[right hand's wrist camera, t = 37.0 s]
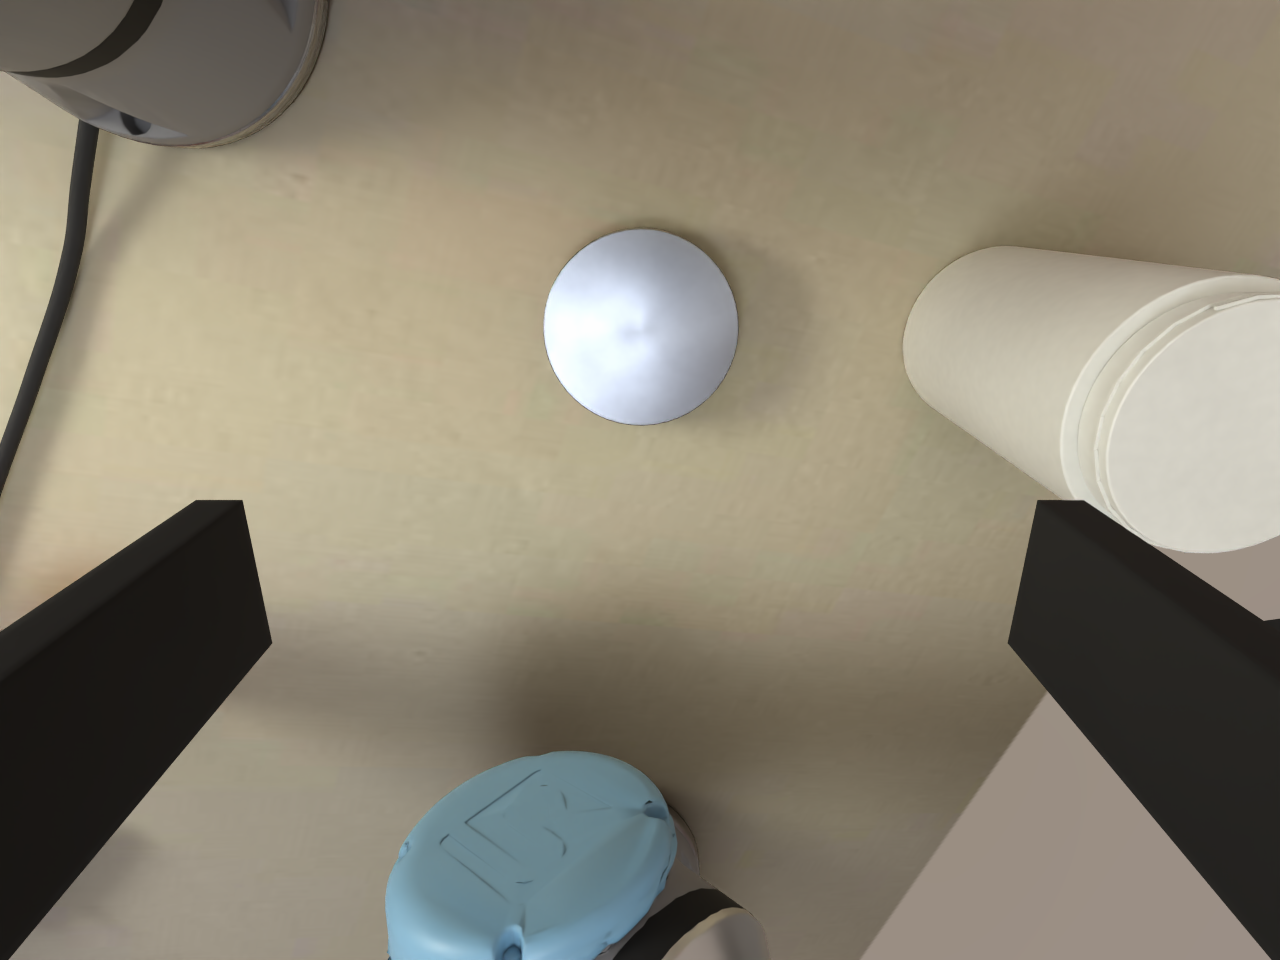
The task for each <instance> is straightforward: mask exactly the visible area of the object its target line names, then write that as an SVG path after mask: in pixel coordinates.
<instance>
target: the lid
mask: <svg viewBox="0 0 1280 960" xmlns="http://www.w3.org/2000/svg"><path fill="white" fill-rule="evenodd" d="M738 331H739V327H738V313H737V307H736V303H735V299H734V296H733V293H732V290H731V288H730V286H729V284H728V282H727V280H726V278H725V276H724V275H723V273H722V272H721V270H720V269H719V267H718V266H717V265H716V264H715V263H714V261H713V260H712V259H711V258H710V257H709V256H708V255H707V254H706V253H704V252H703V251H702V250H701V249H700V248H699V247H697V246H696V245H694V244H693V243H691V242H690V241H688V240H687V239H685V238H683V237H681V236H679V235H677V234H674V233H671V232H668V231H665V230H660V229H654V228H642V227H638V228H627V229H622V230H618V231H614V232H611V233H608V234H606V235H603V236H601V237H599V238H597V239H596V240H594V241H592V242H590V243H589V244H588V245H586V246H585V247H584V248H582V249H581V250H580V251H578V252H577V253H576V254H575V255H574V256H573V257H572V258H571V259H570V260H569V261H568V262H567V264H566V265H565V266H564V267H563V269H562V270H561V271H560V273H559V275H558V276H557V278H556V280H555V282H554V283H553V286H552V288H551V291H550V293H549V295H548V299H547V303H546V307H545V313H544V321H543V334H544V341H545V348H546V351H547V355H548V359H549V361H550V364H551V366H552V369H553V371H554V373H555V374H556V376H557V378H558V380H559V381H560V383H561V384H562V385H563V387H564V388H565V389H566V391H567V392H568V393H569V394H570V395H571V396H572V397H573V398H574V399H575V400H576V401H577V402H578V403H580V404H581V405H582V406H583V407H585V408H586V409H588V410H589V411H591V412H593V413H594V414H596V415H598V416H601V417H603V418H605V419H607V420H611V421H614V422H617V423H622V424H628V425H655V424H660V423H664V422H668V421H671V420H674V419H677V418H679V417H681V416H683V415H685V414H687V413H689V412H691V411H692V410H694V409H695V408H697V407H698V406H700V405H701V404H702V403H703V402H705V401H706V400H707V399H708V398H709V397H710V396H711V395H712V394H713V393H714V392H715V390H716V389H717V388H718V387H719V385H720V384H721V382H722V381H723V380H724V378H725V376H726V374H727V372H728V370H729V368H730V366H731V364H732V361H733V358H734V355H735V351H736V347H737V342H738Z"/></svg>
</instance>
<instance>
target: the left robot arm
mask: <svg viewBox="0 0 1280 960" xmlns="http://www.w3.org/2000/svg"><path fill="white" fill-rule="evenodd" d="M1264 622H1266V623H1267V624H1269V625H1270V626H1272V627H1273V628H1275V629H1276V630H1278V631H1279V632H1280V619H1275V620H1267V621H1264ZM386 918H387V927H388V935H389V939H388V951H387V953H388V954H389V955H390V957H389V958H388V960H771V957H770V952H769V947H768V943H767V938H766V935H765V931H764V929H763V927H762V925H761V923H760V922H759V921H758V920H757V919H756V918H755V917H754V916H753V915H752V914H751V913H750V912H748V911H747V910H746V909H744V908H743V907H741V906H740V905H739V904H737V903H736V902H734V901H733V900H732V899H730V898H729V897H727V896H726V895H725V894H723V893H722V892H720V891H719V890H718V889H716V888H715V887H713V886H712V885H711V884H709V883H708V882H707V881H705V880H704V879H702V878H701V877H700V873H699V861H698V851H697V847H696V843H695V840H694V838H693V835H692V833H691V831H690V829H689V828H688V826H687V825H686V823H685V822H684V820H683V819H682V818H681V817H680V816H679V814H678V813H677V812H675V811H674V810H673V809H672V808H671V807H670V806H669V805H667V804H666V802H665V800H664V798H663V796H662V794H661V792H660V791H659V789H658V788H657V787H656V785H655V784H654V783H653V782H652V781H651V780H650V779H649V778H648V777H647V776H646V775H645V774H644V773H642V772H641V771H640V770H638V769H637V768H635V767H633V766H632V765H630V764H628V763H626V762H624V761H622V760H619V759H616V758H613V757H610V756H607V755H603V754H599V753H593V752H585V751H556V752H550V753H548V754H544V755H540V756H525V757H521V758H518V759H514V760H511V761H508V762H506V763H503V764H501V765H498V766H496V767H493V768H490V769H488V770H486V771H484V772H482V773H480V774H478V775H476V776H474V777H473V778H471V779H469V780H467V781H466V782H464V783H463V784H461V785H460V786H458V787H457V788H455V789H454V790H452V791H451V792H450V793H448V794H447V795H446V796H445V797H443V798H442V799H441V800H440V801H439V802H437V803H436V804H435V805H434V806H433V807H432V808H431V809H430V810H429V811H428V812H427V813H426V814H425V815H424V816H423V818H422V819H421V820H420V821H419V822H418V823H417V824H416V826H415V827H414V828H413V830H412V831H411V832H410V834H409V835H408V836H407V838H406V840H405V841H404V843H403V845H402V846H401V849H400V851H399V858H398V860H397V861H396V863H395V865H394V867H393V869H392V872H391V874H390V876H389V880H388V884H387V891H386Z"/></svg>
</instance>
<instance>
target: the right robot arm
mask: <svg viewBox="0 0 1280 960" xmlns="http://www.w3.org/2000/svg"><path fill="white" fill-rule="evenodd" d="M327 12H328V0H0V71H5V72H6V73H8V74H9V75H11V76H12V77H14V78H15V79H17V80H19V81H20V82H22V83H23V84H25V85H26V86H28V87H29V88H31V89H32V90H34V91H36V92H37V93H39V94H40V95H42V96H43V97H45V98H46V99H48V100H49V101H51V102H52V103H54V104H56V105H57V106H59V107H60V108H62V109H63V110H65V111H67V112H68V113H70V114H72V115H73V116H75V117H77V118H79V124H78V131H77V139H76V146H75V153H74V160H73V168H72V176H71V184H70V193H69V204H68V217H67V227H66V235H65V241H64V246H63V251H62V255H61V260H60V264H59V268H58V272H57V276H56V280H55V284H54V287H53V291H52V294H51V297H50V301H49V304H48V307H47V310H46V313H45V316H44V319H43V322H42V325H41V328H40V331H39V334H38V337H37V340H36V343H35V346H34V348H33V351H32V354H31V357H30V360H29V363H28V366H27V369H26V372H25V375H24V378H23V381H22V384H21V387H20V390H19V393H18V396H17V399H16V402H15V405H14V407H13V410H12V413H11V416H10V418H9V421H8V424H7V427H6V429H5V432H4V435H3V438H2V440H1V443H0V496H1V493H2V490H3V487H4V484H5V481H6V478H7V476H8V473H9V470H10V467H11V464H12V462H13V459H14V456H15V453H16V451H17V448H18V445H19V443H20V440H21V437H22V435H23V432H24V429H25V427H26V424H27V421H28V419H29V416H30V413H31V411H32V408H33V405H34V402H35V399H36V397H37V394H38V391H39V388H40V385H41V382H42V379H43V376H44V373H45V370H46V368H47V365H48V362H49V359H50V356H51V353H52V350H53V348H54V345H55V342H56V339H57V336H58V333H59V331H60V328H61V325H62V322H63V319H64V316H65V313H66V310H67V307H68V303H69V300H70V297H71V294H72V290H73V287H74V283H75V279H76V276H77V272H78V268H79V264H80V259H81V255H82V250H83V246H84V240H85V233H86V225H87V215H88V204H89V195H90V187H91V180H92V173H93V167H94V160H95V153H96V147H97V140H98V133H99V128H100V129H102V130H105V131H108V132H110V133H113V134H116V135H118V136H121V137H124V138H127V139H131V140H134V141H138V142H142V143H147V144H152V145H159V146H168V147H178V148H207V147H215V146H220V145H224V144H229V143H232V142H235V141H238V140H240V139H243V138H246V137H248V136H250V135H252V134H254V133H256V132H258V131H259V130H261V129H262V128H264V127H265V126H267V125H268V124H270V123H271V122H272V121H274V120H275V119H276V118H277V117H278V116H279V115H280V114H282V113H283V112H284V111H285V110H286V108H287V107H288V106H289V105H290V104H291V103H292V102H293V101H294V99H295V98H296V96H297V95H298V94H299V92H300V91H301V90H302V88H303V86H304V85H305V83H306V81H307V79H308V77H309V76H310V74H311V72H312V69H313V67H314V65H315V62H316V60H317V57H318V54H319V51H320V48H321V45H322V41H323V36H324V32H325V27H326V20H327ZM271 644H272V640H271V635H270V630H269V625H268V620H267V616H266V611H265V606H264V601H263V596H262V592H261V587H260V582H259V577H258V572H257V568H256V563H255V558H254V553H253V548H252V544H251V539H250V534H249V529H248V524H247V520H246V515H245V510H244V505H243V500H196V501H194V502H193V503H191V504H190V505H188V506H187V507H185V508H184V509H182V510H181V511H179V512H178V513H176V514H175V515H173V516H172V517H170V518H169V519H167V520H166V521H164V522H163V523H161V524H160V525H158V526H157V527H155V528H154V529H152V530H151V531H149V532H148V533H147V534H145V535H144V536H142V537H141V538H139V539H138V540H136V541H135V542H133V543H132V544H130V545H129V546H127V547H126V548H124V549H123V550H121V551H120V552H118V553H117V554H115V555H114V556H112V557H111V558H109V559H108V560H106V561H105V562H103V563H102V564H100V565H99V566H97V567H96V568H94V569H93V570H91V571H90V572H88V573H87V574H86V575H84V576H83V577H81V578H80V579H78V580H77V581H75V582H74V583H72V584H71V585H69V586H68V587H66V588H65V589H63V590H62V591H60V592H59V593H57V594H56V595H54V596H53V597H51V598H50V599H48V600H47V601H45V602H44V603H42V604H41V605H39V606H38V607H36V608H35V609H33V610H32V611H30V612H29V613H27V614H26V615H25V616H23V617H22V618H20V619H19V620H17V621H16V622H14V623H13V624H11V625H10V626H8V627H7V628H5V629H4V630H2V631H1V632H0V960H9V958H10V957H11V956H12V955H13V954H14V952H15V951H16V950H17V949H18V948H19V946H20V945H21V944H22V943H23V942H24V940H25V939H26V938H27V937H28V936H29V934H30V933H31V932H32V931H33V930H34V928H35V927H36V926H37V925H38V924H39V922H40V921H41V920H42V919H43V918H44V916H45V915H46V914H47V913H48V912H49V910H50V909H51V908H52V907H53V906H54V904H55V903H56V902H57V901H58V900H59V898H60V897H61V896H62V895H63V894H64V892H65V891H66V890H67V889H68V888H69V886H70V885H71V884H72V883H73V882H74V880H75V879H76V878H77V877H78V876H79V874H80V873H81V872H82V871H83V870H84V868H85V867H86V866H87V865H88V864H89V862H90V861H91V860H92V859H93V858H94V856H95V855H96V854H97V853H98V852H99V850H100V849H101V848H102V847H103V846H104V844H105V843H106V842H107V841H108V840H109V838H110V837H111V836H112V835H113V834H114V832H115V831H116V830H117V829H118V828H119V826H120V825H121V824H122V823H123V822H124V820H125V819H126V818H127V817H128V816H129V814H130V813H131V812H132V811H133V810H134V808H135V807H136V806H137V805H138V804H139V802H140V801H141V800H142V799H143V798H144V796H145V795H146V794H147V793H148V792H149V790H150V789H151V788H152V787H153V786H154V784H155V783H156V782H157V781H158V780H159V778H160V777H161V776H162V775H163V774H164V772H165V771H166V770H167V769H168V768H169V766H170V765H171V764H172V763H173V762H174V760H175V759H176V758H177V757H178V756H179V754H180V753H181V752H182V751H183V750H184V748H185V747H186V746H187V745H188V744H189V742H190V741H191V740H192V739H193V738H194V736H195V735H196V734H197V733H198V732H199V730H200V729H201V728H202V727H203V726H204V724H205V723H206V722H207V721H208V720H209V718H210V717H211V716H212V715H213V714H214V712H215V711H216V710H217V709H218V708H219V706H220V705H221V704H222V703H223V702H224V700H225V699H226V698H227V697H228V696H229V694H230V693H231V692H232V691H233V690H234V688H235V687H236V686H237V685H238V684H239V682H240V681H241V680H242V679H243V678H244V676H245V675H246V674H247V673H248V672H249V670H250V669H251V668H252V667H253V666H254V664H255V663H256V662H257V661H258V660H259V658H260V657H261V656H262V655H263V654H264V652H265V651H266V650H267V649H268V648H269V646H270V645H271ZM1008 644H1009V645H1010V646H1011V648H1012V649H1013V650H1014V651H1015V652H1016V654H1017V655H1018V656H1019V657H1020V658H1021V660H1022V661H1023V662H1024V663H1025V664H1026V666H1027V667H1028V668H1029V669H1030V670H1031V672H1032V673H1033V674H1034V675H1035V676H1036V678H1037V679H1038V680H1039V681H1040V682H1041V684H1042V685H1043V686H1044V687H1045V688H1046V690H1047V691H1048V692H1049V693H1050V694H1051V695H1052V697H1053V698H1054V699H1055V700H1056V702H1057V703H1058V704H1059V705H1060V706H1061V708H1062V709H1063V710H1064V711H1065V712H1066V714H1067V715H1068V716H1069V717H1070V718H1071V720H1072V721H1073V722H1074V723H1075V724H1076V726H1077V727H1078V728H1079V729H1080V730H1081V732H1082V733H1083V734H1084V735H1085V736H1086V738H1087V739H1088V740H1089V741H1090V742H1091V744H1092V745H1093V746H1094V747H1095V748H1096V750H1097V751H1098V752H1099V753H1100V754H1101V756H1102V757H1103V758H1104V759H1105V760H1106V762H1107V763H1108V764H1109V765H1110V766H1111V767H1112V769H1113V770H1114V771H1115V772H1116V774H1117V775H1118V776H1119V777H1120V778H1121V780H1122V781H1123V782H1124V783H1125V784H1126V786H1127V787H1128V788H1129V789H1130V790H1131V792H1132V793H1133V794H1134V795H1135V796H1136V798H1137V799H1138V800H1139V801H1140V802H1141V804H1142V805H1143V806H1144V807H1145V808H1146V810H1147V811H1148V812H1149V813H1150V814H1151V816H1152V817H1153V818H1154V819H1155V820H1156V822H1157V823H1158V824H1159V825H1160V826H1161V828H1162V829H1163V830H1164V831H1165V832H1166V833H1167V835H1168V836H1169V837H1170V838H1171V840H1172V841H1173V842H1174V843H1175V844H1176V846H1177V847H1178V848H1179V849H1180V850H1181V852H1182V853H1183V854H1184V855H1185V856H1186V858H1187V859H1188V860H1189V861H1190V862H1191V864H1192V865H1193V866H1194V867H1195V868H1196V870H1197V871H1198V872H1199V873H1200V874H1201V876H1202V877H1203V878H1204V879H1205V880H1206V882H1207V883H1208V884H1209V885H1210V886H1211V888H1212V889H1213V890H1214V891H1215V892H1216V894H1217V895H1218V896H1219V897H1220V898H1221V900H1222V901H1223V902H1224V903H1225V904H1226V906H1227V907H1228V908H1229V909H1230V910H1231V912H1232V913H1233V914H1234V915H1235V916H1236V918H1237V919H1238V920H1239V921H1240V922H1241V924H1242V925H1243V926H1244V927H1245V928H1246V930H1247V931H1248V932H1249V933H1250V934H1251V936H1252V937H1253V938H1254V939H1255V940H1256V942H1257V943H1258V944H1259V945H1260V946H1261V948H1262V949H1263V950H1264V951H1265V952H1266V954H1267V955H1268V956H1269V957H1270V958H1271V960H1280V632H1279V631H1278V630H1276V629H1275V628H1273V627H1272V626H1270V625H1269V624H1267V623H1266V622H1264V621H1263V620H1261V619H1260V618H1258V617H1257V616H1255V615H1254V614H1252V613H1251V612H1249V611H1248V610H1247V609H1245V608H1244V607H1242V606H1241V605H1239V604H1238V603H1236V602H1235V601H1233V600H1232V599H1230V598H1229V597H1227V596H1226V595H1224V594H1223V593H1221V592H1220V591H1218V590H1217V589H1215V588H1214V587H1212V586H1211V585H1209V584H1208V583H1206V582H1205V581H1203V580H1202V579H1200V578H1199V577H1197V576H1196V575H1194V574H1193V573H1192V572H1190V571H1188V570H1187V569H1186V568H1184V567H1183V566H1181V565H1180V564H1178V563H1177V562H1175V561H1174V560H1172V559H1171V558H1169V557H1168V556H1166V555H1165V554H1163V553H1162V552H1160V551H1159V550H1157V549H1156V548H1154V547H1153V546H1151V545H1150V544H1148V543H1147V542H1145V541H1144V540H1142V539H1141V538H1139V537H1138V536H1136V535H1135V534H1133V533H1132V532H1131V531H1129V530H1128V529H1126V528H1125V527H1123V526H1122V525H1120V524H1119V523H1117V522H1116V521H1114V520H1113V519H1111V518H1110V517H1108V516H1107V515H1105V514H1104V513H1102V512H1101V511H1099V510H1098V509H1096V508H1095V507H1093V506H1092V505H1090V504H1089V503H1087V502H1086V501H1084V500H1037V505H1036V510H1035V515H1034V520H1033V524H1032V529H1031V534H1030V539H1029V544H1028V548H1027V553H1026V558H1025V563H1024V568H1023V572H1022V577H1021V582H1020V587H1019V592H1018V596H1017V601H1016V606H1015V611H1014V616H1013V620H1012V625H1011V630H1010V635H1009V640H1008Z"/></svg>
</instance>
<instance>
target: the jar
mask: <svg viewBox="0 0 1280 960" xmlns="http://www.w3.org/2000/svg"><path fill="white" fill-rule="evenodd" d="M903 357H904V364H905V368H906V372H907V375H908V377H909V380H910V382H911V384H912V386H913V387H914V389H915V391H916V392H917V393H918V395H919V396H920V397H921V398H922V399H923V400H924V401H925V402H926V403H927V404H928V405H929V406H930V407H932V408H933V409H935V410H936V411H937V412H939V413H940V414H942V415H943V416H945V417H946V418H947V419H949V420H950V421H952V422H953V423H955V424H956V425H957V426H959V427H960V428H962V429H963V430H964V431H966V432H967V433H969V434H970V435H972V436H973V437H974V438H976V439H977V440H979V441H980V442H981V443H983V444H984V445H986V446H987V447H989V448H990V449H991V450H993V451H994V452H996V453H997V454H998V455H1000V456H1001V457H1003V458H1004V459H1006V460H1007V461H1008V462H1010V463H1011V464H1013V465H1014V466H1016V467H1017V468H1018V469H1020V470H1021V471H1023V472H1024V473H1025V474H1027V475H1028V476H1030V477H1031V478H1033V479H1034V480H1035V481H1037V482H1038V483H1040V484H1041V485H1042V486H1044V487H1045V488H1047V489H1048V490H1050V491H1051V492H1052V493H1054V494H1055V495H1057V496H1058V497H1059V498H1061V499H1062V500H1084V501H1086V502H1087V503H1089V504H1090V505H1092V506H1093V507H1095V508H1096V509H1098V510H1099V511H1101V512H1102V513H1104V514H1105V515H1107V516H1108V517H1110V518H1111V519H1113V520H1114V521H1116V522H1117V523H1119V524H1120V525H1122V526H1123V527H1125V528H1126V529H1128V530H1129V531H1131V532H1132V533H1133V534H1135V535H1136V536H1138V537H1139V538H1141V539H1142V540H1144V541H1145V542H1147V543H1148V544H1152V545H1154V546H1158V547H1163V548H1167V549H1172V550H1177V551H1181V552H1184V553H1220V552H1229V551H1234V550H1239V549H1244V548H1247V547H1250V546H1254V545H1257V544H1260V543H1263V542H1265V541H1267V540H1270V539H1272V538H1275V537H1277V536H1279V535H1280V280H1279V279H1276V278H1272V277H1266V276H1261V275H1254V274H1246V273H1237V272H1229V271H1221V270H1212V269H1204V268H1195V267H1187V266H1178V265H1170V264H1161V263H1153V262H1145V261H1136V260H1128V259H1119V258H1111V257H1102V256H1094V255H1085V254H1077V253H1069V252H1060V251H1052V250H1043V249H1035V248H1026V247H1018V246H996V247H989V248H985V249H981V250H977V251H975V252H972V253H969V254H967V255H965V256H963V257H961V258H959V259H957V260H955V261H954V262H952V263H951V264H949V265H948V266H947V267H945V268H944V269H943V270H942V271H940V272H939V273H938V274H937V275H936V276H935V277H934V278H933V279H932V280H931V281H930V282H929V283H928V284H927V286H926V287H925V288H924V290H923V291H922V292H921V294H920V295H919V297H918V298H917V300H916V302H915V304H914V305H913V308H912V310H911V312H910V315H909V317H908V320H907V324H906V327H905V332H904V338H903Z"/></svg>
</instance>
